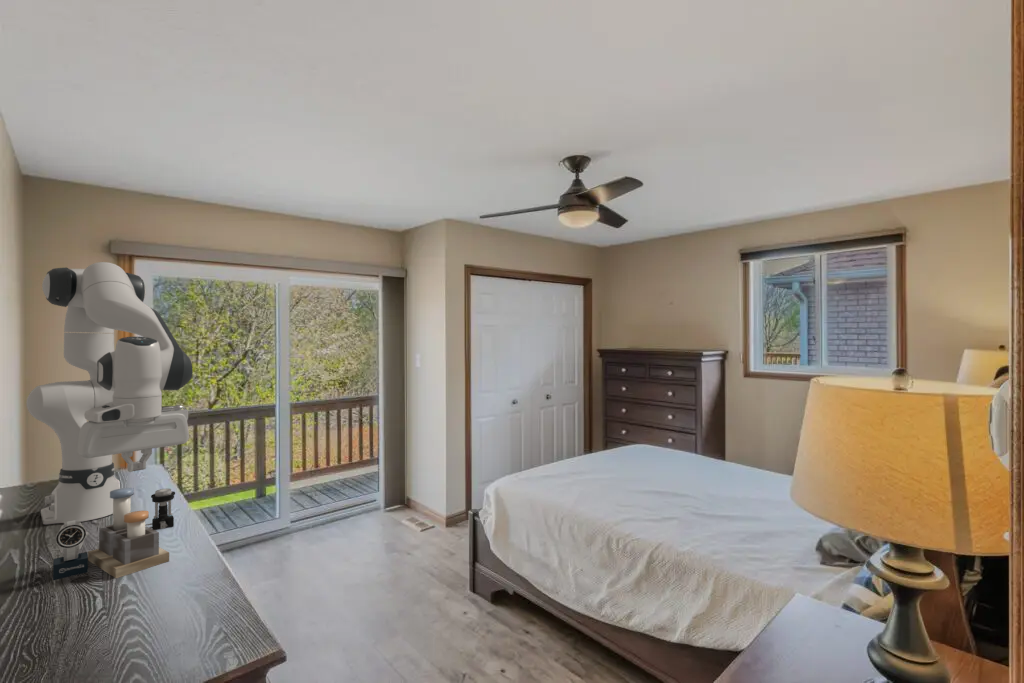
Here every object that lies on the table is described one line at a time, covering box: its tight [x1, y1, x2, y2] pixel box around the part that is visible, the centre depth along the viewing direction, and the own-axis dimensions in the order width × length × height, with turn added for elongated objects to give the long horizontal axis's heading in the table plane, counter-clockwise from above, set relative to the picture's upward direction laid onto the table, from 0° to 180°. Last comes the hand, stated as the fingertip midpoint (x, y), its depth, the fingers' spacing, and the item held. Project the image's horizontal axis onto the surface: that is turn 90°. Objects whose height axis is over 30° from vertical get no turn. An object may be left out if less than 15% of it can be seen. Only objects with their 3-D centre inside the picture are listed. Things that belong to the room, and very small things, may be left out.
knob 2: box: [124, 510, 149, 539], centre depth 110 cm, size 4×4×9 cm
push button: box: [145, 488, 176, 531], centre depth 133 cm, size 7×5×10 cm
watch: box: [52, 520, 90, 581], centre depth 106 cm, size 6×8×11 cm
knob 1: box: [110, 487, 135, 531], centre depth 115 cm, size 4×4×9 cm
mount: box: [87, 524, 170, 579], centre depth 112 cm, size 16×10×7 cm, turn 57°
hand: (136, 470), depth 111 cm, fingers closed
